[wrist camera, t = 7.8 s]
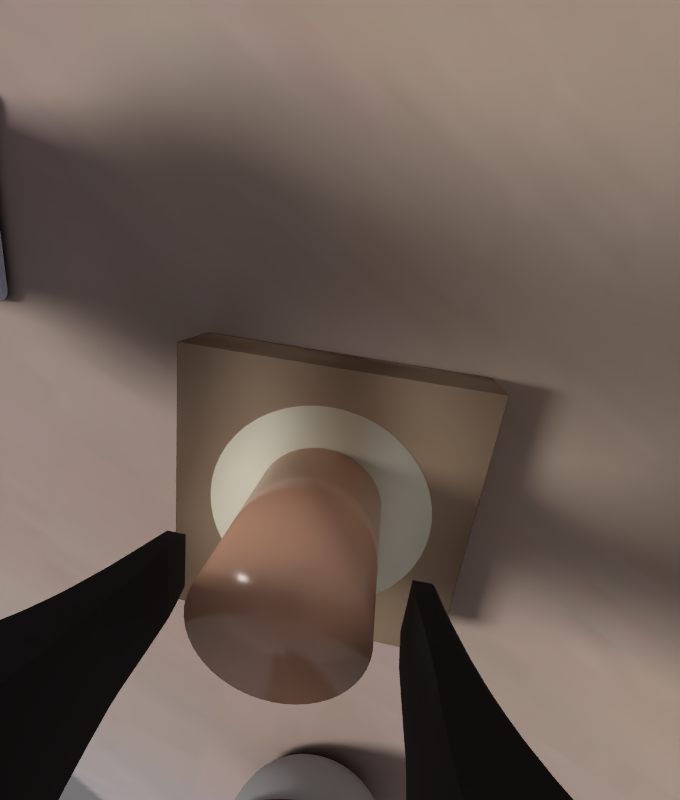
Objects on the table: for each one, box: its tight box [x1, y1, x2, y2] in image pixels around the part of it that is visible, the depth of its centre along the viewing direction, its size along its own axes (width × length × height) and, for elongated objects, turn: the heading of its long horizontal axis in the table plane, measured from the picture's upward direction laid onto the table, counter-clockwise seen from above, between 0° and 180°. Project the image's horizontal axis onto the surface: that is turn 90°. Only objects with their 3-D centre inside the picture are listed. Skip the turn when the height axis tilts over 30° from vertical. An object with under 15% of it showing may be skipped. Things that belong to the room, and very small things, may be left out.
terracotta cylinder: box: [184, 448, 381, 704], centre depth 13 cm, size 5×5×6 cm
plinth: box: [176, 333, 508, 647], centre depth 17 cm, size 12×12×2 cm
